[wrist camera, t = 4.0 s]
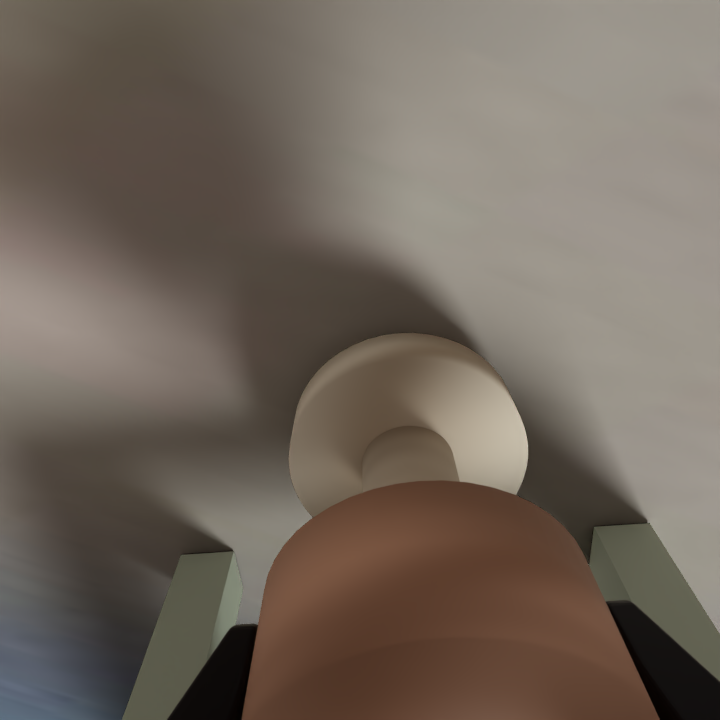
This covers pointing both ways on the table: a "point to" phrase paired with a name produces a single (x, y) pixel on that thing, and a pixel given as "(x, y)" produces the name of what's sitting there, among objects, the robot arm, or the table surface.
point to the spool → (428, 559)
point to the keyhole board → (224, 591)
